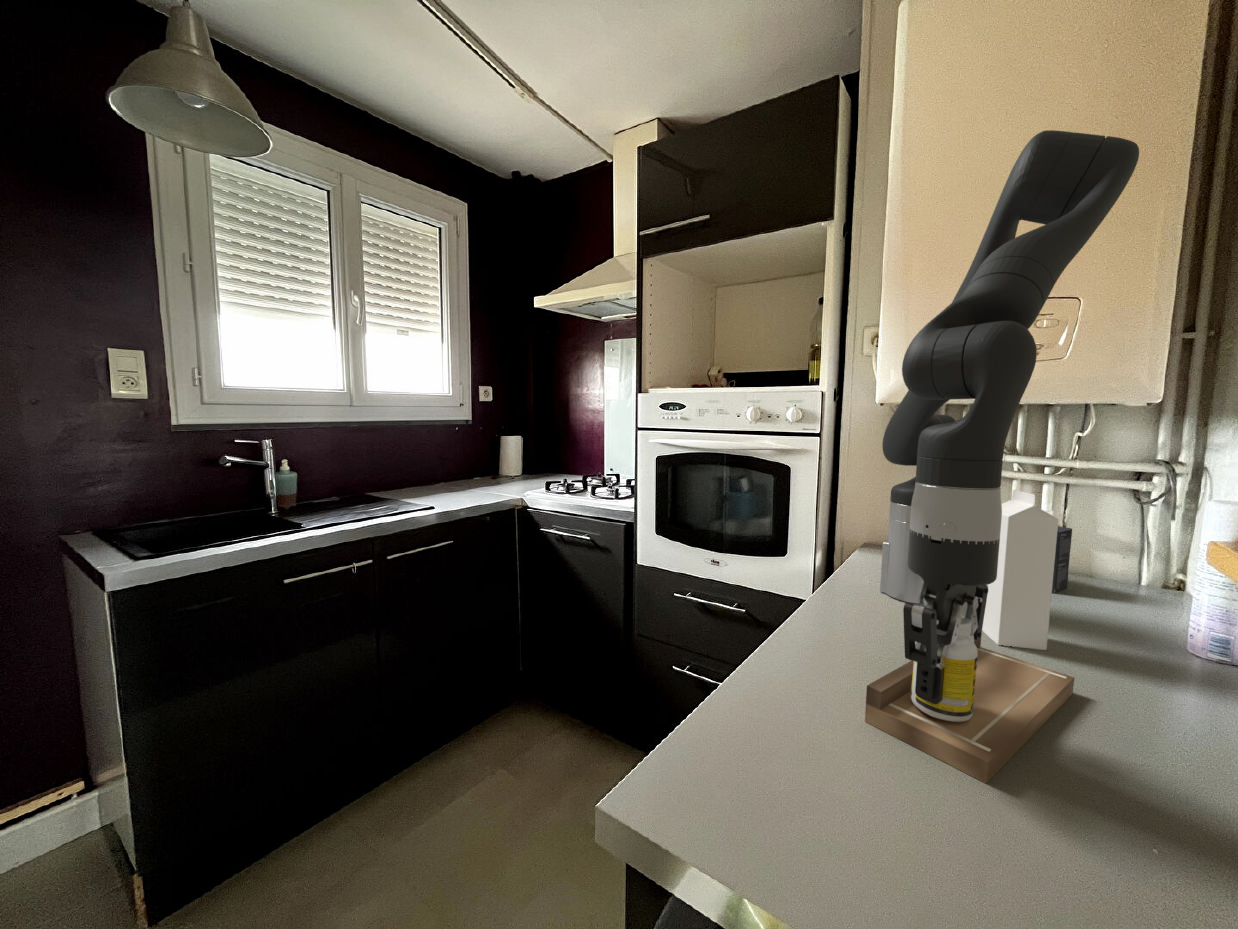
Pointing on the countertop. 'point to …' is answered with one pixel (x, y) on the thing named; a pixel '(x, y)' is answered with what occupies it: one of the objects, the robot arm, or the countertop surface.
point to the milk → (1022, 576)
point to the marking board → (1001, 717)
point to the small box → (1061, 559)
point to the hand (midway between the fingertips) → (941, 689)
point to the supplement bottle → (954, 680)
